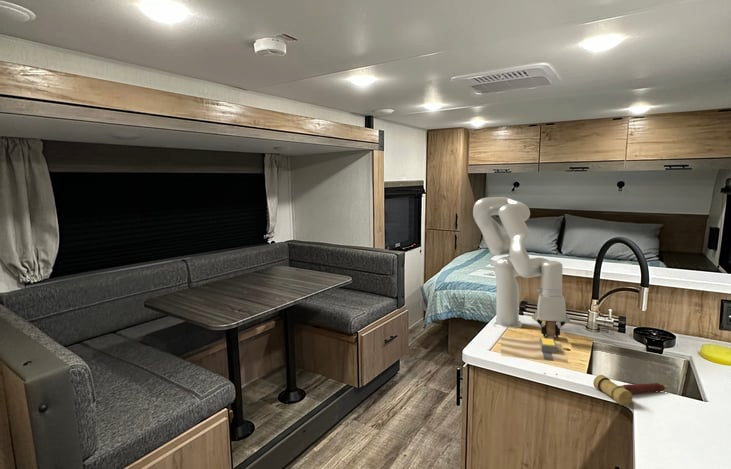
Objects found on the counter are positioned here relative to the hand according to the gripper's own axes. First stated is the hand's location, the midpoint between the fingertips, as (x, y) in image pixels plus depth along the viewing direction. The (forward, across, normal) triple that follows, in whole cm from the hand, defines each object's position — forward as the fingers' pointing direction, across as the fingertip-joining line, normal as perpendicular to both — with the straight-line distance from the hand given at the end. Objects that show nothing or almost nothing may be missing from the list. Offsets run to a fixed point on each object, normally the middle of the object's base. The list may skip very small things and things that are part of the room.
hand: (550, 335), depth 155 cm
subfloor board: (+2, -8, -13) cm, 15 cm away
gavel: (+3, +19, -36) cm, 41 cm away
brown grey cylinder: (+2, 0, 0) cm, 2 cm away
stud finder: (+1, -2, -12) cm, 13 cm away
